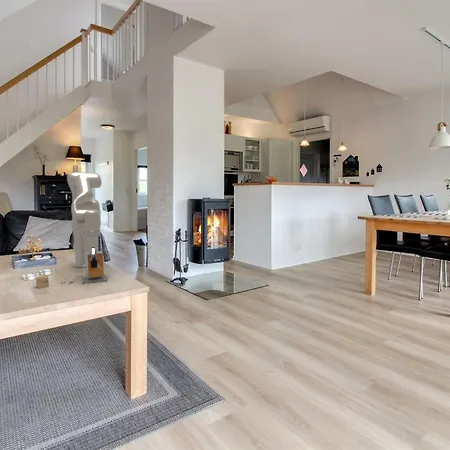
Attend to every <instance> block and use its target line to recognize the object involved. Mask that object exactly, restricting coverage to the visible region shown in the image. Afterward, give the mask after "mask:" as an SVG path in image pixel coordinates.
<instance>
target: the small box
mask: <svg viewBox="0 0 450 450" xmlns="http://www.w3.org/2000/svg"><path fill="white" fill-rule="evenodd" d="M96 255H97V265H98V267H97V268H91V255H88V252H87V253H85V263H86V267H85V275H86V276H85V277H88V278H93V277H100V276H104V275H105V274H104V252H102V251H100V250H98V254H96Z"/></svg>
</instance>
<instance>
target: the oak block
mask: <svg viewBox="0 0 450 450" xmlns="http://www.w3.org/2000/svg"><path fill="white" fill-rule="evenodd" d="M35 280H36V281H35V282H36V288H37V289H42V288H49V287H50V283H49V281H50V280H49V276H48V275H41V276H36V277H35Z"/></svg>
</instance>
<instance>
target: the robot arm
mask: <svg viewBox="0 0 450 450" xmlns="http://www.w3.org/2000/svg"><path fill="white" fill-rule="evenodd" d="M66 180H67V184H68V187H69V188H70V191H71V195H72V196H71V197H72V198H71V200H72V203H71V208H70V209H71V211H70V212H71V215H72V216H71V217H72V219H71V221H70V222H71V224H70V225H71V229H72V235H73V247H74V261H75V262H74V263H72V267H74V268H86V263H85V253H87V252H88V255H91V268H97V267H98V265H97V255H96V254H98V251H99V237H101V226H102V225H101V224H102V223H101V207H100V206H101V205H100V202H99V200H97V199H96V198H94V191H93V189H100V188H101V186H102V184H103V182H102V178H101V175H100V174H98V173H97V172H89V171H88V172H86V171H85V172H84V171H82V172H81V171H80V172H79V171H75V172H69V173H68V174H67V176H66Z"/></svg>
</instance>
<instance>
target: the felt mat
mask: <svg viewBox="0 0 450 450" xmlns="http://www.w3.org/2000/svg"><path fill="white" fill-rule="evenodd" d="M103 282H104V283H105V282H108V274H104V276H100V277H93V278H88V277H87V276H84V277H83V280H82V284H92V283H94V284H95V283H103Z"/></svg>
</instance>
